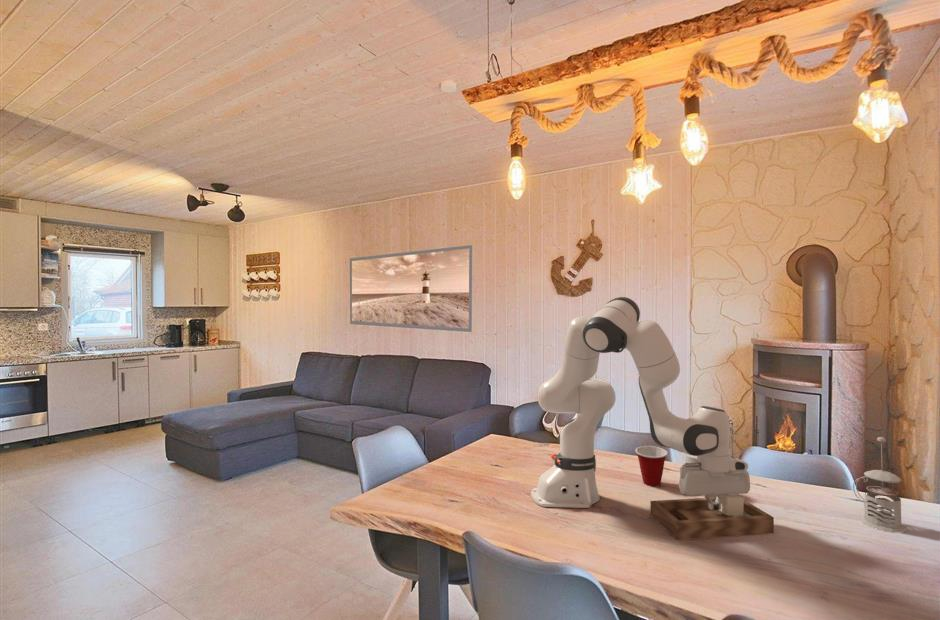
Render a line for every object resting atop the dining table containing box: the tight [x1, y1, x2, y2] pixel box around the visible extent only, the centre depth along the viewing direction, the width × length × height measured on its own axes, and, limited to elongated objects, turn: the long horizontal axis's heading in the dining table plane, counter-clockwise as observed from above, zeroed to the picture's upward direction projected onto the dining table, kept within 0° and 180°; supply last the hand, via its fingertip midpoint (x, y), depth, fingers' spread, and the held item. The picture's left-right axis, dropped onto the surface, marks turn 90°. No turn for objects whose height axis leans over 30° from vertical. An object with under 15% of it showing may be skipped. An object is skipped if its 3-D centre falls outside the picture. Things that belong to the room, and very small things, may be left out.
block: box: [719, 494, 745, 516], centre depth 138 cm, size 5×5×5 cm
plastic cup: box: [634, 445, 668, 487], centre depth 167 cm, size 11×11×12 cm
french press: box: [852, 436, 907, 533], centre depth 134 cm, size 10×12×25 cm
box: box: [649, 496, 775, 541], centre depth 135 cm, size 28×15×4 cm, turn 95°
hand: (714, 509), depth 137 cm, fingers closed
